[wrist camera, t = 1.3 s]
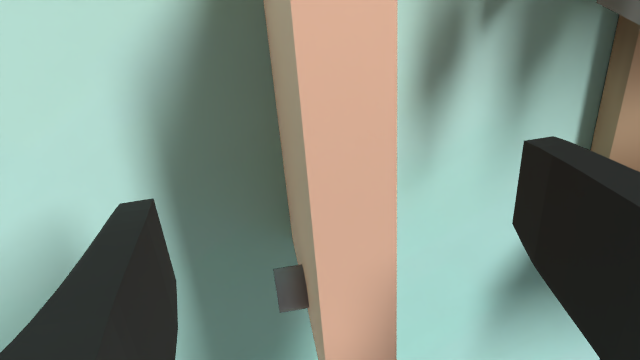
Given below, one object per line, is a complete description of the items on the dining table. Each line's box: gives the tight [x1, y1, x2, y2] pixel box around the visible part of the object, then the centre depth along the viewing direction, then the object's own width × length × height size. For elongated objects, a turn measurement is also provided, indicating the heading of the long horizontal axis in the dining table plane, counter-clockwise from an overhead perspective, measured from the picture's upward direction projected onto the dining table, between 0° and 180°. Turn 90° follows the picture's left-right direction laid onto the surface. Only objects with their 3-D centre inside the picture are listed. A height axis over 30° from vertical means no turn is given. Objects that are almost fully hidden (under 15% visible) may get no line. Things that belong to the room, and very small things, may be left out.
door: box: [263, 0, 397, 360], centre depth 14 cm, size 11×2×7 cm, turn 4°
